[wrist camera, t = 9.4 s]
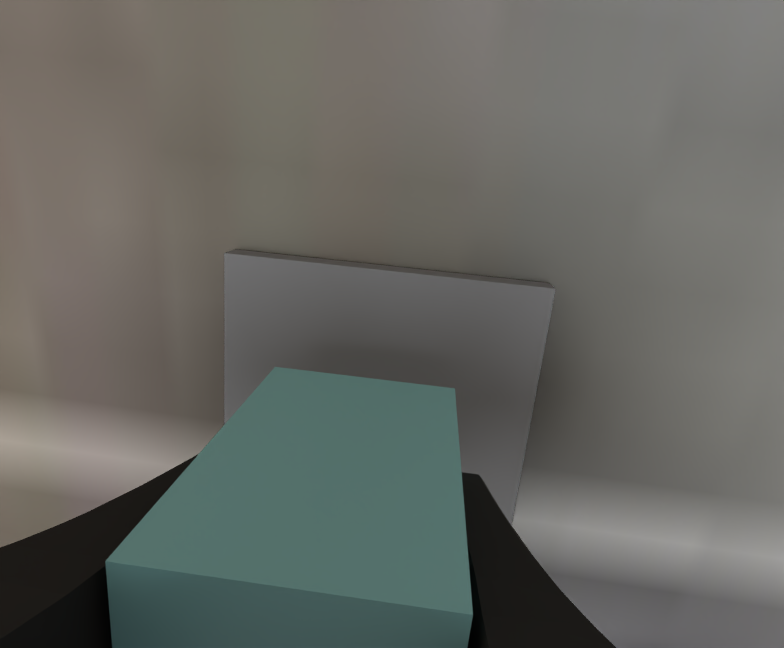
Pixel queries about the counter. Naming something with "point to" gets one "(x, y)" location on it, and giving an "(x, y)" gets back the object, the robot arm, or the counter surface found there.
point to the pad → (397, 342)
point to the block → (307, 526)
